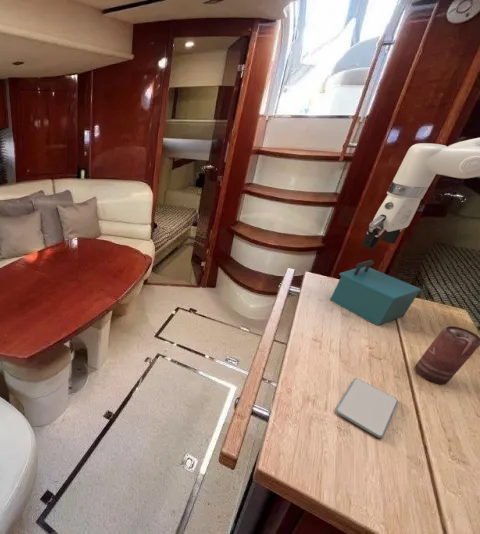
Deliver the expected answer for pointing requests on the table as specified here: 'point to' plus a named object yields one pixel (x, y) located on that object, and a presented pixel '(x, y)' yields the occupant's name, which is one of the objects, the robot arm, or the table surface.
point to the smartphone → (367, 407)
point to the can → (447, 354)
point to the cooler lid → (379, 281)
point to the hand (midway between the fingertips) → (377, 244)
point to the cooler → (370, 302)
